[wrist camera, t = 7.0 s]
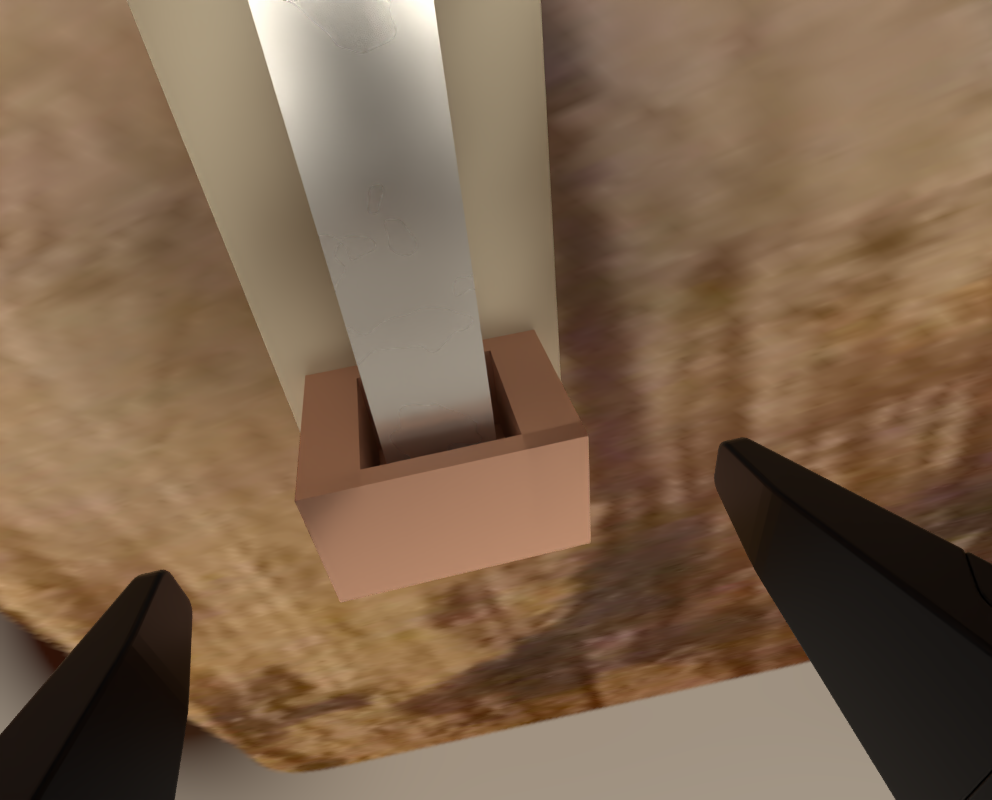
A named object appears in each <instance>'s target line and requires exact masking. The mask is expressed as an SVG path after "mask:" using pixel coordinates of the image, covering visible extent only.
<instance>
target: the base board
mask: <svg viewBox="0 0 992 800" xmlns="http://www.w3.org/2000/svg"><path fill="white" fill-rule="evenodd" d="M127 2H128V5H129V7H130V10H131V12H132V15H133V17H134V20H135V22H136V25H137V27H138V30H139V32H140V35H141V37H142V40H143V42H144V45H145V47H146V50H147V52H148V55H149V57H150V60H151V62H152V65H153V67H154V70H155V72H156V75H157V77H158V80H159V82H160V84H161V87H162V89H163V92H164V94H165V97H166V99H167V102H168V104H169V107H170V109H171V112H172V114H173V117H174V119H175V122H176V124H177V127H178V129H179V132H180V134H181V137H182V139H183V142H184V144H185V147H186V149H187V152H188V154H189V157H190V159H191V162H192V164H193V167H194V169H195V172H196V174H197V177H198V179H199V182H200V184H201V187H202V189H203V192H204V194H205V197H206V199H207V202H208V204H209V207H210V209H211V212H212V214H213V216H214V219H215V221H216V224H217V226H218V229H219V231H220V234H221V236H222V239H223V241H224V244H225V246H226V249H227V251H228V254H229V256H230V259H231V261H232V264H233V266H234V269H235V271H236V274H237V276H238V279H239V281H240V284H241V286H242V289H243V291H244V294H245V296H246V299H247V301H248V304H249V306H250V309H251V311H252V314H253V316H254V319H255V321H256V324H257V326H258V329H259V331H260V334H261V336H262V339H263V341H264V344H265V346H266V349H267V351H268V353H269V356H270V358H271V361H272V363H273V366H274V368H275V371H276V373H277V376H278V378H279V381H280V383H281V386H282V388H283V391H284V393H285V396H286V398H287V401H288V403H289V406H290V408H291V411H292V413H293V416H294V418H295V421H296V423H297V426H298V428H299V431H300V433H301V421H302V409H303V397H304V385H305V376H306V375H311V374H316V373H321V372H326V371H331V370H336V369H341V368H346V367H351V366H356V365H357V363H356V360H355V356H354V353H353V350H352V346H351V343H350V340H349V336H348V333H347V330H346V326H345V323H344V320H343V316H342V313H341V310H340V306H339V303H338V300H337V296H336V293H335V290H334V286H333V283H332V280H331V276H330V273H329V269H328V266H327V263H326V259H325V256H324V253H323V249H322V246H321V243H320V239H319V236H318V233H317V229H316V226H315V223H314V219H313V216H312V213H311V209H310V206H309V203H308V199H307V196H306V193H305V189H304V186H303V183H302V179H301V176H300V173H299V169H298V166H297V163H296V159H295V156H294V153H293V149H292V146H291V143H290V139H289V136H288V133H287V129H286V126H285V123H284V119H283V116H282V113H281V109H280V106H279V103H278V99H277V96H276V93H275V89H274V86H273V83H272V79H271V76H270V73H269V69H268V66H267V62H266V59H265V56H264V52H263V49H262V46H261V42H260V39H259V36H258V32H257V29H256V26H255V22H254V19H253V16H252V12H251V9H250V6H249V2H248V0H127ZM434 6H435V13H436V20H437V27H438V34H439V41H440V48H441V55H442V62H443V69H444V76H445V83H446V90H447V97H448V104H449V111H450V118H451V125H452V132H453V139H454V146H455V153H456V160H457V167H458V174H459V181H460V188H461V195H462V202H463V209H464V216H465V223H466V230H467V237H468V244H469V251H470V258H471V265H472V272H473V279H474V286H475V293H476V300H477V307H478V314H479V321H480V327H481V334H482V340H485V339H489V338H494V337H499V336H504V335H509V334H514V333H519V332H524V331H529V330H535V332H536V334H537V336H538V338H539V340H540V342H541V344H542V346H543V348H544V350H545V352H546V354H547V356H548V358H549V360H550V361H551V363H552V365H553V367H554V369H555V371H556V373H557V375H558V377H559V379H560V381H561V373H560V355H559V336H558V317H557V298H556V279H555V260H554V241H553V223H552V204H551V185H550V166H549V147H548V128H547V109H546V91H545V72H544V53H543V34H542V15H541V0H434Z"/></svg>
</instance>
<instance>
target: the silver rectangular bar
mask: <svg viewBox="0 0 992 800" xmlns="http://www.w3.org/2000/svg"><path fill="white" fill-rule="evenodd" d="M248 2H249V6H250V9H251V12H252V16H253V19H254V22H255V26H256V29H257V32H258V36H259V39H260V42H261V46H262V49H263V52H264V56H265V59H266V62H267V66H268V69H269V73H270V76H271V79H272V83H273V86H274V89H275V93H276V96H277V99H278V103H279V106H280V109H281V113H282V116H283V119H284V123H285V126H286V129H287V133H288V136H289V139H290V143H291V146H292V149H293V153H294V156H295V159H296V163H297V166H298V169H299V173H300V176H301V179H302V183H303V186H304V189H305V193H306V196H307V199H308V203H309V206H310V209H311V213H312V216H313V219H314V223H315V226H316V229H317V233H318V236H319V239H320V243H321V246H322V249H323V253H324V256H325V259H326V263H327V266H328V269H329V273H330V276H331V280H332V283H333V286H334V290H335V293H336V296H337V300H338V303H339V306H340V310H341V313H342V316H343V320H344V323H345V326H346V330H347V333H348V336H349V340H350V343H351V346H352V350H353V353H354V356H355V360H356V363H357V366H358V370H359V373H360V376H361V380H362V383H363V386H364V390H365V393H366V396H367V400H368V403H369V406H370V410H371V413H372V416H373V420H374V423H375V426H376V430H377V433H378V436H379V440H380V443H381V446H382V450H383V453H384V456H385V460H386V463H387V464H389V463H393V462H398V461H402V460H407V459H412V458H416V457H421V456H425V455H430V454H434V453H439V452H444V451H448V450H453V449H457V448H462V447H466V446H471V445H476V444H480V443H485V442H489V441H494V440H497V439H496V432H495V425H494V418H493V411H492V404H491V397H490V390H489V383H488V376H487V369H486V362H485V355H484V348H483V341H482V334H481V327H480V321H479V314H478V307H477V300H476V293H475V286H474V279H473V272H472V265H471V258H470V251H469V244H468V237H467V230H466V223H465V216H464V209H463V202H462V195H461V188H460V181H459V174H458V167H457V160H456V153H455V146H454V139H453V132H452V125H451V118H450V111H449V104H448V97H447V90H446V83H445V76H444V69H443V62H442V55H441V48H440V41H439V34H438V27H437V20H436V13H435V6H434V0H248Z"/></svg>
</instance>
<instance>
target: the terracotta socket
mask: <svg viewBox="0 0 992 800" xmlns="http://www.w3.org/2000/svg"><path fill="white" fill-rule="evenodd" d="M482 341H483V348H484V355H485V362H486V369H487V376H488V383H489V390H490V397H491V404H492V411H493V418H494V425H495V432H496V439H497V440H494V441H489V442H485V443H480V444H476V445H471V446H466V447H462V448H457V449H453V450H448V451H444V452H439V453H434V454H430V455H425V456H421V457H416V458H412V459H407V460H402V461H398V462H393V463H389V464H387V463H386V460H385V456H384V453H383V450H382V446H381V443H380V440H379V436H378V433H377V430H376V426H375V423H374V420H373V416H372V413H371V410H370V406H369V403H368V400H367V396H366V393H365V390H364V386H363V383H362V380H361V376H360V373H359V370H358V366H357V365H356V366H351V367H346V368H341V369H336V370H331V371H326V372H321V373H316V374H311V375H306V376H305V385H304V397H303V409H302V421H301V433H300V444H299V456H298V468H297V480H296V492H295V503H296V505H297V507H298V509H299V511H300V514H301V516H302V518H303V520H304V523H305V525H306V527H307V529H308V532H309V534H310V536H311V538H312V540H313V543H314V545H315V547H316V549H317V552H318V554H319V556H320V558H321V560H322V563H323V565H324V567H325V569H326V572H327V574H328V576H329V578H330V580H331V583H332V585H333V587H334V589H335V592H336V594H337V596H338V598H339V600H340V603H341V602H345V601H349V600H353V599H357V598H362V597H366V596H370V595H374V594H378V593H382V592H387V591H391V590H395V589H399V588H403V587H408V586H412V585H416V584H420V583H424V582H428V581H433V580H437V579H441V578H445V577H449V576H454V575H458V574H462V573H466V572H470V571H474V570H479V569H483V568H487V567H491V566H495V565H500V564H504V563H508V562H512V561H516V560H521V559H525V558H529V557H533V556H537V555H541V554H546V553H550V552H554V551H558V550H562V549H567V548H571V547H575V546H579V545H583V544H587V543H591V535H590V485H589V436H588V434H587V432H586V430H585V428H584V426H583V424H582V422H581V420H580V418H579V416H578V414H577V412H576V410H575V408H574V406H573V405H572V403H571V401H570V399H569V397H568V395H567V393H566V391H565V389H564V387H563V385H562V383H561V381H560V379H559V377H558V375H557V373H556V371H555V369H554V367H553V365H552V363H551V361H550V360H549V358H548V356H547V354H546V352H545V350H544V348H543V346H542V344H541V342H540V340H539V338H538V336H537V334H536V332H535V330H529V331H524V332H519V333H514V334H509V335H504V336H499V337H494V338H489V339H485V340H482Z"/></svg>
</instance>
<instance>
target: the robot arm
mask: <svg viewBox="0 0 992 800" xmlns="http://www.w3.org/2000/svg"><path fill="white" fill-rule="evenodd" d="M714 482H715V486H716V489H717V492H718V494H719V496H720V498H721V500H722V502H723V504H724V507H725V509H726V511H727V513H728V515H729V517H730V519H731V521H732V524H733V526H734V528H735V530H736V532H737V534H738V536H739V538H740V541H741V543H742V545H743V547H744V549H745V551H746V553H747V555H748V557H749V559H750V561H751V563H752V565H753V567H754V569H755V571H756V573H757V574H758V576H759V578H760V579H761V581H762V583H763V584H764V586H765V588H766V589H767V591H768V593H769V594H770V596H771V597H772V599H773V601H774V602H775V604H776V606H777V607H778V609H779V610H780V612H781V614H782V615H783V617H784V619H785V620H786V622H787V624H788V625H789V627H790V628H791V630H792V632H793V633H794V635H795V637H796V638H797V640H798V641H799V643H800V645H801V646H802V648H803V650H804V651H805V653H806V654H807V656H808V658H809V659H810V661H811V663H812V664H813V666H814V667H815V669H816V671H817V672H818V674H819V676H820V677H821V679H822V680H823V682H824V684H825V685H826V687H827V688H828V690H829V692H830V694H831V695H832V697H833V698H834V700H835V702H836V703H837V705H838V706H839V708H840V710H841V711H842V713H843V715H844V716H845V718H846V719H847V721H848V723H849V724H850V726H851V728H852V729H853V731H854V733H855V734H856V736H857V737H858V739H859V741H860V742H861V744H862V746H863V747H864V749H865V750H866V752H867V754H868V755H869V757H870V759H871V760H872V762H873V764H874V765H875V767H876V768H877V770H878V772H879V773H880V775H881V776H882V778H883V780H884V781H885V783H886V784H887V786H888V788H889V790H890V791H891V792H892V795H893V796H894V798H895V799H896V800H992V564H991V563H989V562H987V561H985V560H983V559H982V558H980V557H978V556H976V555H974V554H972V553H970V552H967V553H965V552H964V550H963V549H962V548H960V547H958V546H956V545H954V544H952V543H950V542H948V541H946V540H944V539H942V538H940V537H939V536H937V535H935V534H933V533H931V532H929V531H927V530H925V529H923V528H921V527H919V526H917V525H915V524H913V523H911V522H909V521H908V520H906V519H904V518H902V517H900V516H898V515H896V514H894V513H892V512H890V511H888V510H886V509H884V508H882V507H880V506H878V505H876V504H875V503H873V502H871V501H869V500H867V499H865V498H863V497H861V496H859V495H857V494H855V493H853V492H851V491H849V490H847V489H845V488H844V487H842V486H840V485H838V484H836V483H834V482H832V481H830V480H828V479H826V478H824V477H822V476H820V475H818V474H816V473H814V472H812V471H811V470H809V469H807V468H805V467H803V466H801V465H799V464H797V463H795V462H793V461H791V460H789V459H787V458H785V457H783V456H781V455H780V454H778V453H776V452H774V451H772V450H770V449H768V448H766V447H764V446H762V445H760V444H758V443H756V442H754V441H752V440H750V439H748V438H744V437H741V438H737V439H732V440H728V441H724V442H722V443H721V444H720V446H719V449H718V455H717V461H716V468H715V474H714ZM191 638H192V607H191V603H190V601H189V599H188V597H187V596H186V594H185V593H184V591H183V590H182V589H181V587H180V586H179V584H178V583H177V582H176V580H175V579H174V577H173V576H172V575H171V573H170V572H168V571H166V570H158V571H154V572H150V573H145V574H141V575H139V576H137V577H136V578H134V579H133V580H132V581H131V583H130V584H129V585H128V586H127V587H126V588H125V590H124V591H123V592H122V593H121V594H120V595H119V597H118V598H117V599H116V600H115V601H114V602H113V604H112V605H111V606H110V607H109V608H108V609H107V611H106V612H105V613H104V614H103V615H102V616H101V618H100V619H99V620H98V621H97V622H96V623H95V625H94V626H93V627H92V628H91V629H90V630H89V632H88V633H87V634H86V635H85V636H84V637H83V639H82V640H81V641H80V642H79V643H78V644H77V646H76V647H75V648H74V649H73V650H72V651H71V653H70V654H69V655H68V656H67V657H66V658H65V660H64V661H63V662H62V663H61V664H60V665H59V667H58V668H57V669H56V670H55V671H54V673H53V674H52V675H51V676H50V677H49V678H48V680H47V681H46V682H45V683H44V684H43V685H42V687H41V688H40V689H39V690H38V691H37V692H36V693H35V695H34V696H33V697H32V698H31V699H30V701H29V702H28V703H27V704H26V705H25V706H24V708H23V709H22V710H21V711H20V712H19V713H18V714H17V716H16V717H15V718H14V719H13V720H12V722H11V723H10V724H9V725H8V726H7V727H6V729H5V730H4V731H3V732H2V733H1V734H0V800H175V793H176V787H177V781H178V775H179V768H180V761H181V755H182V749H183V742H184V736H185V730H186V722H187V715H188V705H189V688H190V663H191Z"/></svg>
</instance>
